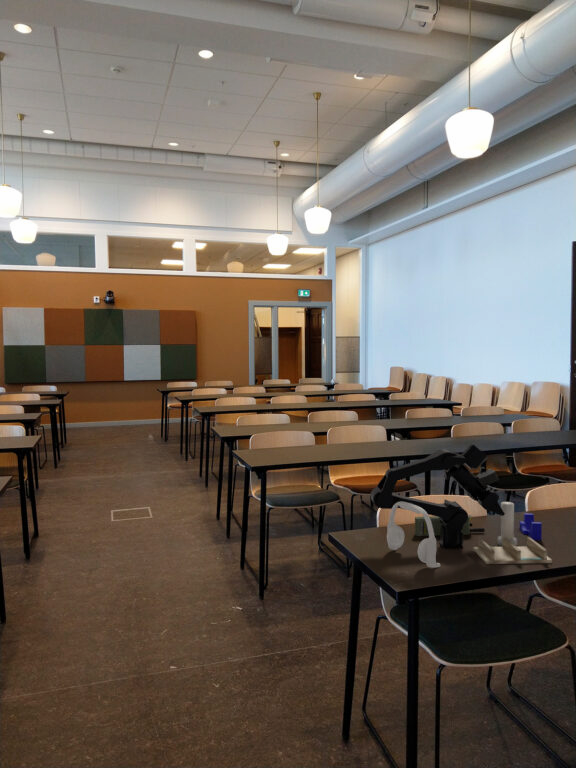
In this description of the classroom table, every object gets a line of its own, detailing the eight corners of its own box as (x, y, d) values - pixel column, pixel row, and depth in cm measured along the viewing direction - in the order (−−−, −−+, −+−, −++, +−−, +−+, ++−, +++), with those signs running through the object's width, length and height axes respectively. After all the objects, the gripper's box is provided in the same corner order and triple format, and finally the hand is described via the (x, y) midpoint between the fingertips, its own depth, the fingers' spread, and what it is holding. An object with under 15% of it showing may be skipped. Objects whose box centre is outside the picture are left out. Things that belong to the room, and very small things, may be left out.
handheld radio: (414, 534, 202) (482, 531, 203) (416, 537, 198) (486, 535, 200) (414, 516, 201) (482, 513, 202) (416, 519, 198) (486, 516, 199)
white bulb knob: (501, 547, 186) (502, 506, 185) (495, 541, 192) (495, 501, 191) (519, 547, 186) (520, 505, 185) (512, 541, 192) (512, 500, 191)
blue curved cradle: (519, 529, 205) (519, 513, 204) (532, 529, 204) (532, 513, 204) (527, 540, 193) (527, 523, 193) (541, 540, 192) (541, 523, 192)
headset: (382, 551, 184) (382, 498, 183) (399, 547, 187) (399, 495, 186) (424, 572, 166) (424, 513, 165) (442, 567, 170) (442, 509, 169)
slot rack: (486, 563, 172) (486, 551, 172) (473, 550, 184) (473, 538, 184) (551, 562, 172) (551, 550, 171) (534, 549, 184) (534, 537, 183)
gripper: (492, 467, 178) (527, 501, 178) (473, 456, 196) (504, 487, 197) (468, 492, 178) (502, 526, 179) (451, 479, 197) (482, 509, 197)
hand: (498, 510), depth 188 cm, fingers open, 9 cm apart
